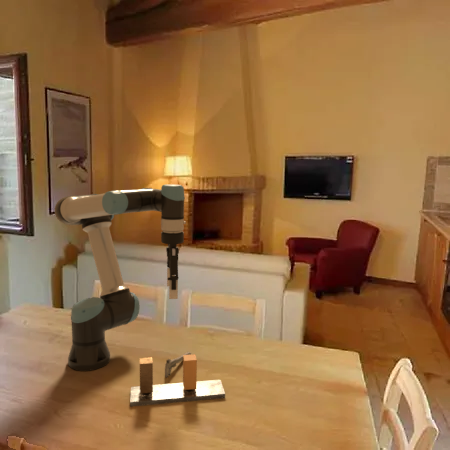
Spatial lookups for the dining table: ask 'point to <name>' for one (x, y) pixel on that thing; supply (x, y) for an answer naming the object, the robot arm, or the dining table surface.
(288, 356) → the dining table surface
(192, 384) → the slide leg
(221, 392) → the bar
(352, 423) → the dining table surface
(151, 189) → the robot arm
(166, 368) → the caliper
